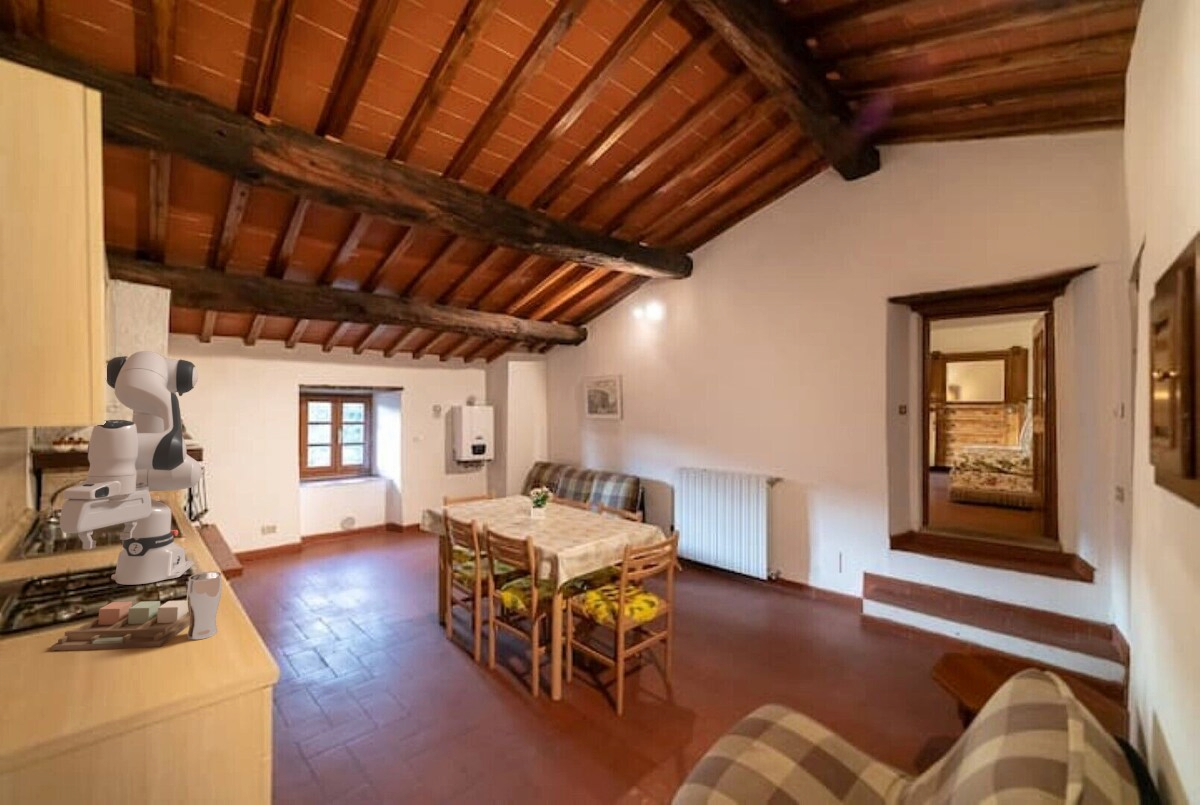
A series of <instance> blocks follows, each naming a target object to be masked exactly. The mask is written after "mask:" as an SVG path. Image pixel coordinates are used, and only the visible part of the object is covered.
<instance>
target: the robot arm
mask: <svg viewBox="0 0 1200 805" xmlns="http://www.w3.org/2000/svg"><path fill="white" fill-rule="evenodd" d="M106 366H107V380H106V383H107V385H108V386H109V387H111V389H113V390H114V394H115V397H116V399H117V400H118V402H120V403H121V404H122V405H123V406H125V407H126V408H129V409H130V410H132V421H131V420H125V419H109V420H105V421H106V423H105V424H104V425H97V426H93V428H92V431H91V435H90V439H89V443H88V446H87V461H88V463H89V468H88V471H87V474H86V480H83V481H81V482H79V483H77V484H75V485H73V486H71V487H68V488H65V489H64V490H63V494H62V496H63V498H64V499H65V501H64V503H62V507H61V509H60V520H59V523H60V524H59V528H60V530H61V531H62V532H63V534H77V536H78V537H79V539H80V540H81V542H82V550H92V549H95V548H97V545H96V544H97V540H93V538H92V536H91V535H93V533H94V530H98V529H101V528H102V529H103V528H107V527H111V526H117V525H121V524H124V528H123V531H121V532H119V540H121V541H122V548H123V549H122V550H121V551H119V553H118V557H117V561H116V562H117V563H116V569H115V573H113V574H112V575H111V580H114V581H115V583H116V584H120V585H127V586H128V585H132V586H133V585H142V584H143V585H144V584H150V583H156V582H160V581H164V580H170V579H171V580H172V579H175V578H179V577H181V576H182V575H183V574H184V573H185V572H187V571H188V570H189V569H190V568H191V567H192V566H193V565H194V563H195V562H194V561H193V560H188V559H186V550H185V548H184V547H182V546H180V545H179V544H178V543H176V542H175V540H174V537H177V536H178V535H179V530H177V529H172V528H171V527H172V509H171V508H170V506H169V505H167V504H166V503H164V502H161V501H159V500H155V499H153V498H152V497H151V494H150V492H164V491H165V492H166V491H167V492H168V491H170V492H171V491H172V492H173V491H180V490H185V489H186V490H187V489H190V488H194V487H195V486H196V485H197V484H198V483H199V482H200V480H201V478H202V474H203V471H202V467H201V464H200V463H199V462H198V461H197V460H196V459H195V458H194V457H192V456H190V455H189V454H187V450H188V449H187V443H186V441H185V439H184V438H185V437H184V436H183V424H182V423H183V422H182V415H181V414H182V413H181V408H180V403H179V402H180V401H179V399H178V396H179V397H182V396H183V395H184V394H186V393H189V392H191V391H192V390H193V389H194V388H195V386H196V384H197V382H198V379H199V374H198V370H197V368H196V366H195V364H194V363H193V362H192V361H189V360H185V359H181V358H180V359H174V358H167V357H163V356H162V355H160V354H159V353H156V352H154V351H150V350H148V351H147V350H142V351H136V352H134V353H132V354H131V355H130V356H129V357H128V355H127V356H123V355H122V356H116V357H112V358H111V359H109V360H108V362H107V364H106ZM177 393H178V394H177ZM177 395H178V396H177Z"/></svg>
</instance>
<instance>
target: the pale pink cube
mask: <svg viewBox="0 0 1200 805" xmlns="http://www.w3.org/2000/svg"><path fill="white" fill-rule="evenodd" d="M187 612H188V605H187V600H168V601H166V602H164V604H161V605H160V607H158V617H157V623H174V622H175V621H177V620H178V619H180V618H181V617H182V616H184V615H185V614H187Z"/></svg>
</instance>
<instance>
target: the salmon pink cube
mask: <svg viewBox="0 0 1200 805" xmlns="http://www.w3.org/2000/svg"><path fill="white" fill-rule="evenodd" d="M132 606H133V601H112V602H110V603H108V604H107V605H104V606H103V607H100V608H99V610H98V617H99V621H98V625H111V624H116V623H117V622H119V621H121V620H123V619H124V618H126V617H128V615H129V608H130V607H132Z"/></svg>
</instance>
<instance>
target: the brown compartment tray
mask: <svg viewBox="0 0 1200 805" xmlns="http://www.w3.org/2000/svg"><path fill="white" fill-rule="evenodd" d="M157 617H158V615H157V616H155V617H154V618H152V619H150V620H149V621H147V622H146V623H144V624H128V617H126V618H124V619H123V620H121V621H119V622H117V623H116V624H111V625H98V621H99V616H98V617H96V618H94V619H93V620H91V621H89V622H88V623H85V624H83V625H82V626H80V627H78V628H77V629H75V630H66V631H65V632H64V635H63V636H61V637H59V638H58V640H57V642H56V643H54V644H52V645H51V649H50V650H51V652H55V651H54V650H60V651H79V650H80V651H82V650H86V651H87V650H110V649H129V648H130V649H137V648H161V647H162V646H163V645H165V644H166V643H168V642H169V641H170V640H171V639H173V638H174V637H176V636H177V635H178V634H179V633H181V632H182V631H183V630H185V629H186V628H187V627H189V626H190V617H189V611H187V614H185V615H184V616H182V617H181V618H180V619H178V620H177V621H175V622H174V623H157Z"/></svg>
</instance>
